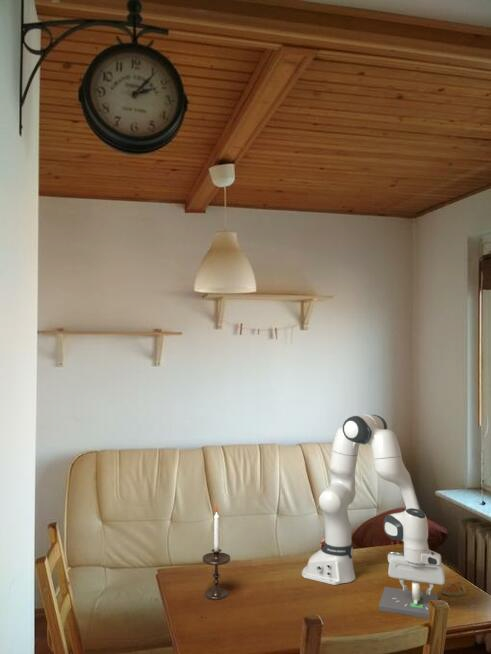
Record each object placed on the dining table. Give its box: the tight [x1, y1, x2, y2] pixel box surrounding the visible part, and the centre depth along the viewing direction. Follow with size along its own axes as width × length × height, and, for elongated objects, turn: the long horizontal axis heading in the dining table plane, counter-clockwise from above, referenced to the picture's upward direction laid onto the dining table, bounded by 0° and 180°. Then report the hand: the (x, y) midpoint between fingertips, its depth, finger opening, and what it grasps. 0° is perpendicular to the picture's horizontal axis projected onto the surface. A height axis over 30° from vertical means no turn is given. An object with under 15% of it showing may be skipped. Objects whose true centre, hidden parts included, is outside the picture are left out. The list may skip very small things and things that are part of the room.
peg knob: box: [411, 581, 424, 604], centre depth 205 cm, size 10×4×7 cm, turn 156°
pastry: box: [441, 581, 467, 597], centre depth 215 cm, size 9×7×4 cm
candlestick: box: [202, 503, 231, 601], centre depth 214 cm, size 11×11×35 cm
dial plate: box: [378, 586, 439, 620], centre depth 205 cm, size 20×18×2 cm
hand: (416, 592), depth 203 cm, fingers open, 7 cm apart
